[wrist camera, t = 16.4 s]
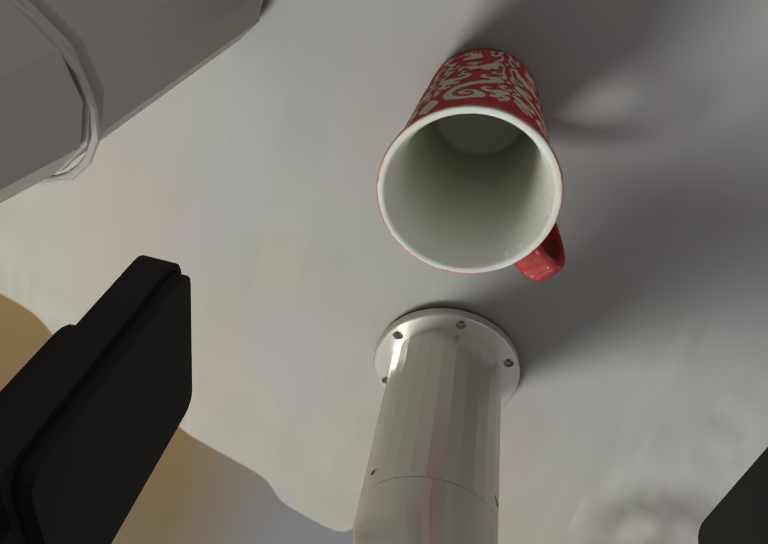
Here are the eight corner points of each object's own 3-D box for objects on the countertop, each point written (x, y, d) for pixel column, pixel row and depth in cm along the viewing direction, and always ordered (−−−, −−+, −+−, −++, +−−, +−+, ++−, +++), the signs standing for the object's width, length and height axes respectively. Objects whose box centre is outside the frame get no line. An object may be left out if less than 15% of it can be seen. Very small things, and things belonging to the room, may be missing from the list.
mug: (384, 85, 41) (338, 173, 30) (502, 0, 37) (498, 67, 26) (487, 224, 46) (479, 344, 35) (601, 163, 42) (633, 277, 31)
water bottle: (183, -115, 36) (-229, -62, 16) (294, -27, 38) (48, 120, 18) (129, 15, 41) (-237, 181, 21) (229, 88, 43) (-20, 305, 23)
